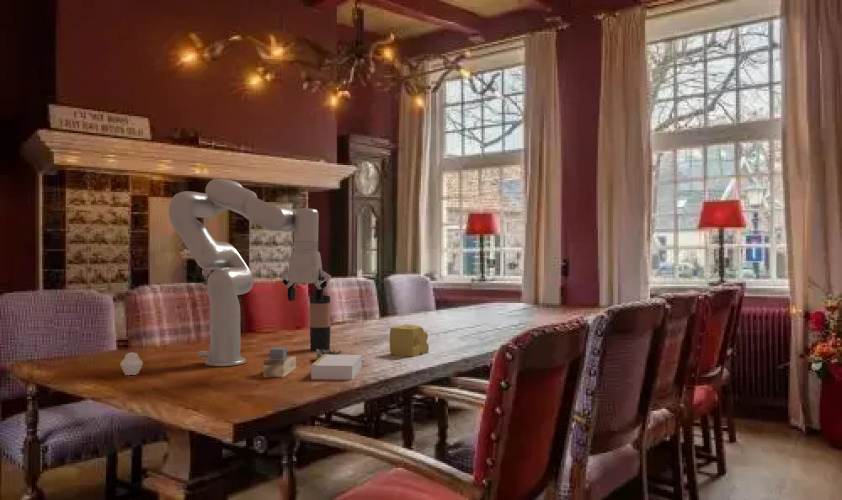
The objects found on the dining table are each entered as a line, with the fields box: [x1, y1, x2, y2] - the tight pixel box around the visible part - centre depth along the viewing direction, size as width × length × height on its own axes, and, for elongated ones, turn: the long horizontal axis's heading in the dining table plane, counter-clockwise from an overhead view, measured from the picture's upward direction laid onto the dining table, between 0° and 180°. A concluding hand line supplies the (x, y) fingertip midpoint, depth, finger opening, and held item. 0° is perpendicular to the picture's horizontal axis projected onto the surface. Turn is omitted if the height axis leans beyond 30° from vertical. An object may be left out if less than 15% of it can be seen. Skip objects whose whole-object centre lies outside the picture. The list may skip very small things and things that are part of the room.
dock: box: [310, 354, 363, 381], centre depth 197 cm, size 12×19×4 cm, turn 177°
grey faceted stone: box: [120, 351, 144, 376], centre depth 193 cm, size 6×6×7 cm
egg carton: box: [315, 349, 342, 361], centre depth 219 cm, size 11×8×4 cm
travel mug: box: [309, 295, 331, 352], centre depth 243 cm, size 8×8×20 cm
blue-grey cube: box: [269, 346, 288, 362], centre depth 197 cm, size 4×4×4 cm
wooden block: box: [262, 356, 297, 378], centre depth 199 cm, size 6×15×6 cm, turn 177°
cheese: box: [389, 323, 430, 358], centre depth 233 cm, size 10×11×10 cm
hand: (305, 301), depth 205 cm, fingers open, 9 cm apart
